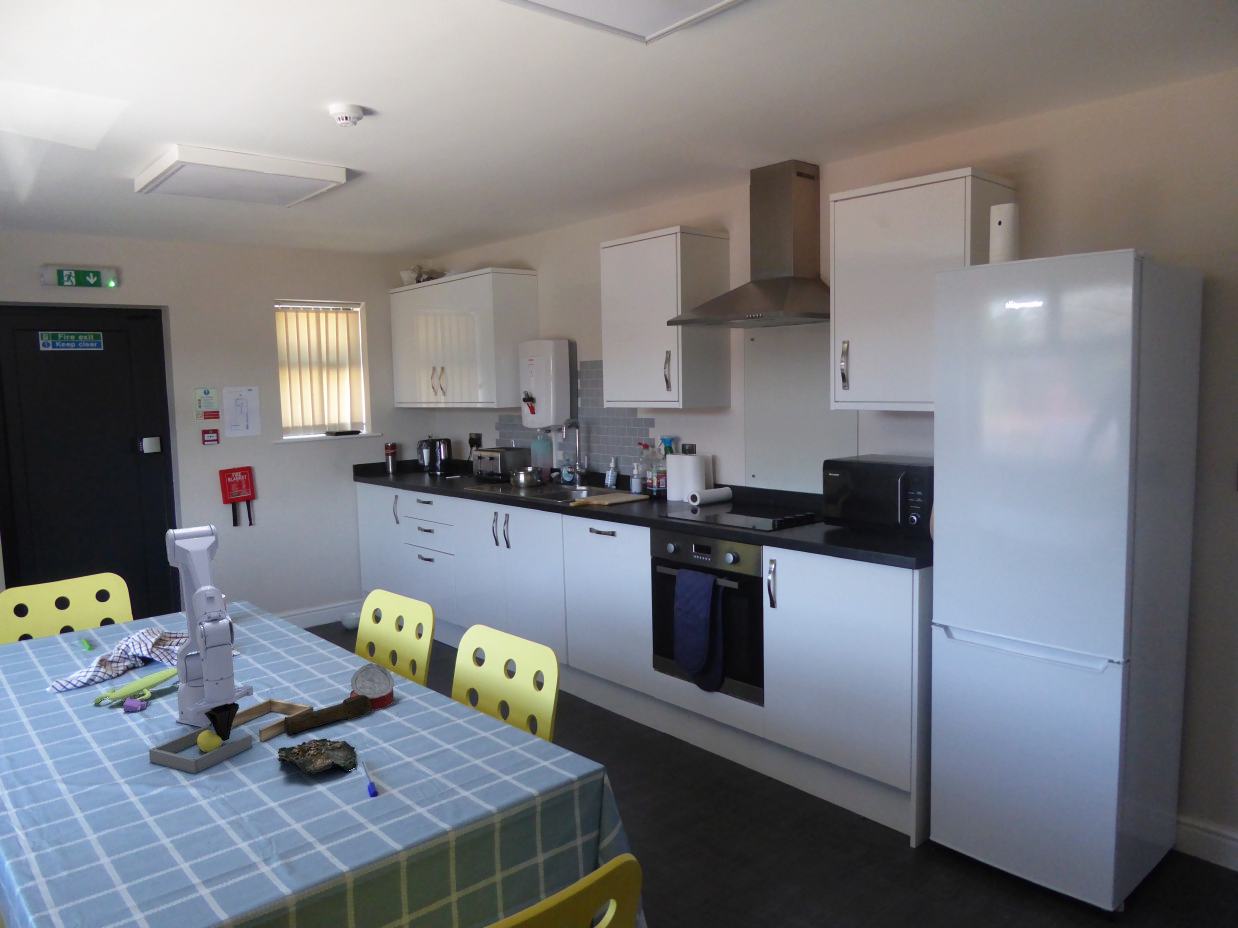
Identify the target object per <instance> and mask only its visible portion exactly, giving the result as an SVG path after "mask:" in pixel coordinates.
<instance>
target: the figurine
mask: <svg viewBox="0 0 1238 928" xmlns="http://www.w3.org/2000/svg"><path fill="white" fill-rule="evenodd" d="M175 676H178V674H177V667H174V668H168V669H164V670H161V671H158V672H155V673H152V674H149V675H146V676H144V677H142V678H140V679H136V680H134V681H133V682H130V683H129V684H127V685H125V686H122V687H121V688H119V689H117V690H116V689H115V688H113V687H112V688H111V689H110V690H109V691H108V692H106V693H103V694H100V695H99V696H97V697H95V698H94V701H93V702H94V703H95V704H99V702H100V701H101V700H103V699H104V698H107V697H109V698H107V699H108V700H109V701H111V702H112V701H117V700H121V701H122V702H124V701H125V702H124V703H123V712H127V711H137V712H139V711H141V710H140V709H142V710H145V708H147V701H146V700H147V699H149V698H150V697H151V696H152V693H151V692H158V690H155V689H154V688H156V687H158V686H160V685H162V684H163V683H165V682H167V681H169V680H171V679H172V678H174V677H175ZM152 689H154V690H152ZM141 693H142V694H143V695H142V696H140V694H141ZM139 696H140V697H139ZM103 701H104V700H103ZM101 702H102V701H101ZM101 702H100V703H101ZM138 710H139V711H138Z"/></svg>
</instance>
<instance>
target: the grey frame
mask: <svg viewBox="0 0 1238 928" xmlns="http://www.w3.org/2000/svg"><path fill="white" fill-rule="evenodd" d="M206 730H210V731H211V726H210V725H207V726H204V727H199V728H198V729H196V730H193V731H191V732H189V733H185V734H183V735H181V736H179V737H175V738H173V739H171V740H169V741H167V742H165V743H162V744H160V745H156V746H154V747H153V748H150V749H148V756H149V762H150V763H153V764H157V765H161V766H165V767H167V768H172V769H176V770H180V771H183V772H188V773H190V774H197V773H199V772H202V771H203V770H205V769H209V767H212V766H214V765H216V764H218V763H220V762H223V761H224V760H227V759H229V758H231V757H234V756H235V755H237V754H239V753H241V752H244V751H246V750H248V749H250V748H252V747H253V743H252V742H253V740H252V734H245V735H244V736H242V737H239V738H237V739H235V740H233V741H230V742H229V743H226V744H225V745H221V747H220V748H217V749H215V750H213V751H211V752H205V753H204V754H202V755H200V756H198V757H197V756H196V757H195V758H194V757H189V756H185V755H183V754H182V755H181V754H177V753H178V752H180V751H182V750H184V749H186V748H188V747H189V748H190V747H192V746H194V745H196V744H197V738H198V736H199V734H200V733H202V732H203V731H206Z"/></svg>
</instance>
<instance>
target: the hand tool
mask: <svg viewBox="0 0 1238 928" xmlns="http://www.w3.org/2000/svg"><path fill="white" fill-rule="evenodd" d="M372 711H373V710H372V703H371V701H370V700H369V698H368V697H367V696H365V695H358V696H354V697H350V696H349V697H347V698H345V699H343V701H342V703H339V704H335V705H331V706H327V707H324V708H320V709H317V710H314V711H313V712H307V713H304V714H300V715H296V716H293V717H288V716H284V718H285V719H284V718H283V719H284V723H285V730H286V731H285V732H286V734H287V736H292V734H298V733H300V732H302V731H305V730H308V729H312V728H315V727H319V726H322V725H325V724H329V723H332V722H335V721H336V722H337V721H339V720H344V719H345V720H349V721H350V720H353V718H354V719H357V718H359V717H361V716H364V715H367V714H369V713H370V712H372ZM356 717H357V718H356Z"/></svg>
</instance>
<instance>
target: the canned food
mask: <svg viewBox="0 0 1238 928" xmlns="http://www.w3.org/2000/svg"><path fill="white" fill-rule="evenodd" d="M350 687H351V689H352V690H351V691H350V693H349V697H354V696H358V695H365V696H367V697H368V698H369V700H370V701H371V703H372V711H376V709H377V710H380V708H381V709H383V707H384V708H386V706H387V707H389V706H391V705H392V704H393V703H394V702H393V701H395V697H394V687H395V679H394V678H393V675H392V674H391V672H389V671H388V669H387V668H386V667H385V666H383V665H381V664H380V663H373V662H371V663H370V662H369V663H367V664H365V665H362V666H361V667H359V669H357V670H355V672H354V674H353V675H352V677H351V682H350ZM392 702H393V703H392ZM391 703H392V704H391ZM388 705H389V706H388Z"/></svg>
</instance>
